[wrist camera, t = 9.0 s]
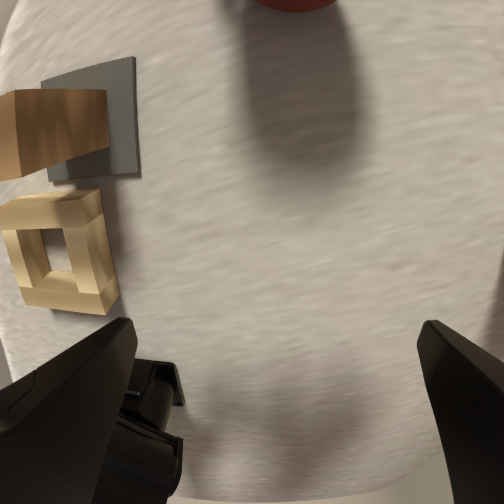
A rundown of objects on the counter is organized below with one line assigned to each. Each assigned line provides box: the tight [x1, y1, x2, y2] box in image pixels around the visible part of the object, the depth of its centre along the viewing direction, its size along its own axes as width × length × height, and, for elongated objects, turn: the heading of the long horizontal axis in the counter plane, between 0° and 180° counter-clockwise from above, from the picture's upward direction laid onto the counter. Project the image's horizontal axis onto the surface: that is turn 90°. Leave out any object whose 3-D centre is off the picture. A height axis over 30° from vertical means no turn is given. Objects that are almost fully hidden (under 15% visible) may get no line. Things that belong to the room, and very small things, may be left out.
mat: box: [41, 56, 141, 182], centre depth 18 cm, size 8×8×1 cm
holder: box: [0, 188, 120, 315], centre depth 21 cm, size 9×9×3 cm
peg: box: [0, 89, 109, 182], centre depth 14 cm, size 4×4×9 cm
